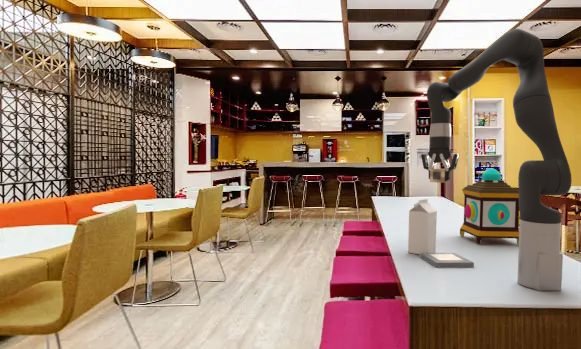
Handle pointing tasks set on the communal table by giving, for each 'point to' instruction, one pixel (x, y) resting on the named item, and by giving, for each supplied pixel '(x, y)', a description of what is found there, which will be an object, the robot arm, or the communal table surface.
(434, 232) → the milk carton
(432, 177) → the marked cube
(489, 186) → the decorative lantern
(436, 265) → the slate board
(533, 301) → the communal table surface
